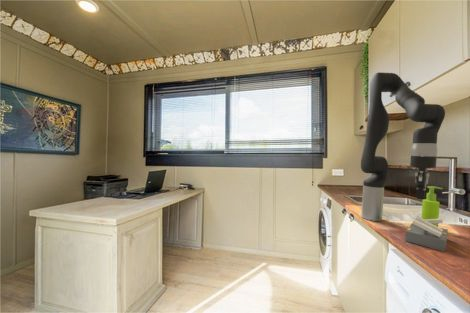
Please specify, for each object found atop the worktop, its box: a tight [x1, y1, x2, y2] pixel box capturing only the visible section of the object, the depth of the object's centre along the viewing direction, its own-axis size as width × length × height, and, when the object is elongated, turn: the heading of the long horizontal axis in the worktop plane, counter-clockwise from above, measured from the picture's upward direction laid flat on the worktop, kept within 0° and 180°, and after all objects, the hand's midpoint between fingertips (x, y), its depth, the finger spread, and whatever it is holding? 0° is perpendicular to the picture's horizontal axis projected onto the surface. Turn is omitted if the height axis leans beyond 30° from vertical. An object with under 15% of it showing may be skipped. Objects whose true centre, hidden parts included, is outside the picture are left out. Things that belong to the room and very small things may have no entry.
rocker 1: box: [414, 216, 444, 232], centre depth 83 cm, size 3×8×1 cm, turn 42°
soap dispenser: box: [420, 185, 444, 227], centre depth 98 cm, size 6×7×20 cm
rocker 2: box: [411, 219, 442, 237], centre depth 79 cm, size 3×8×1 cm, turn 42°
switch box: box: [404, 223, 449, 252], centre depth 84 cm, size 18×11×5 cm, turn 132°
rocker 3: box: [424, 217, 444, 224], centre depth 88 cm, size 3×8×1 cm, turn 42°
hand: (420, 199), depth 81 cm, fingers closed
